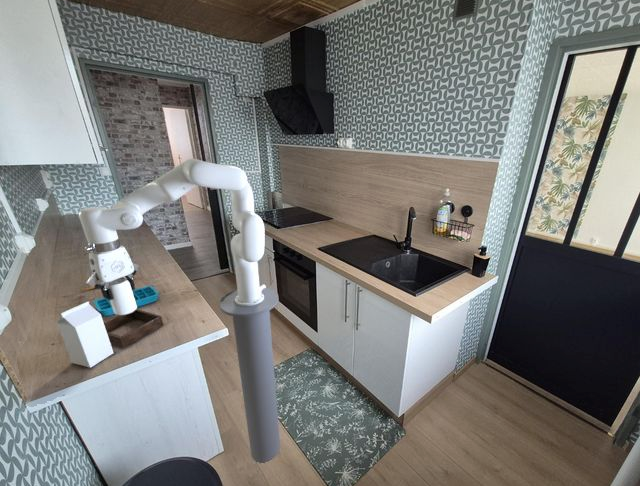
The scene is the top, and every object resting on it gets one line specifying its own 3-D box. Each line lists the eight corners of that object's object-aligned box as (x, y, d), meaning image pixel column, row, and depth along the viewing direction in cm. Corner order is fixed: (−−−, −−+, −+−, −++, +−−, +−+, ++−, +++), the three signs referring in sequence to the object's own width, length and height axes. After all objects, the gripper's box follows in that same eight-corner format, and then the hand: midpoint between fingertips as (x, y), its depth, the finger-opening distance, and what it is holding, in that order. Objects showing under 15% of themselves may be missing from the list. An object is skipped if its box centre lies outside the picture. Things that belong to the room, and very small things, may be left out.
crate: (135, 316, 115) (133, 307, 114) (163, 324, 111) (161, 316, 110) (93, 337, 102) (90, 328, 101) (123, 348, 98) (120, 338, 97)
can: (131, 304, 108) (122, 275, 103) (141, 309, 105) (132, 279, 101) (110, 312, 102) (100, 282, 98) (120, 317, 100) (110, 287, 95)
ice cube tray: (161, 300, 127) (159, 294, 126) (101, 318, 113) (98, 311, 111) (152, 291, 134) (151, 285, 133) (94, 307, 119) (92, 300, 118)
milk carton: (113, 353, 96) (97, 303, 89) (90, 368, 89) (70, 315, 82) (96, 349, 97) (79, 299, 90) (72, 363, 90) (51, 311, 83)
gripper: (81, 256, 86) (100, 308, 92) (140, 239, 101) (152, 285, 108) (64, 252, 88) (84, 303, 95) (124, 236, 103) (137, 281, 110)
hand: (120, 293), depth 101 cm, fingers closed on can, 6 cm apart
